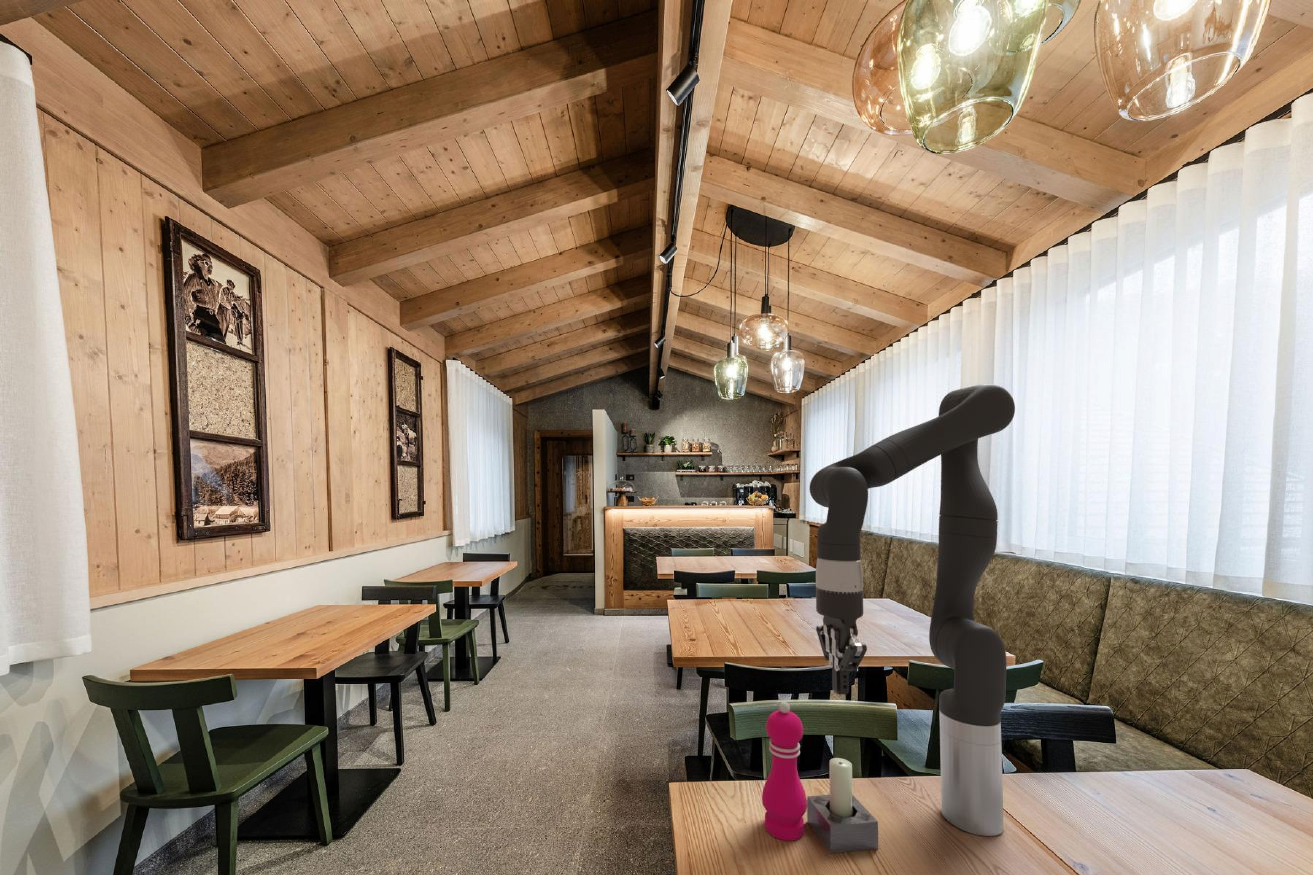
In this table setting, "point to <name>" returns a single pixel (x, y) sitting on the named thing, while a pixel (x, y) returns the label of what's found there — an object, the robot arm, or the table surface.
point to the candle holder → (842, 826)
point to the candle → (840, 787)
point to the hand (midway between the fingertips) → (840, 692)
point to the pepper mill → (784, 777)
